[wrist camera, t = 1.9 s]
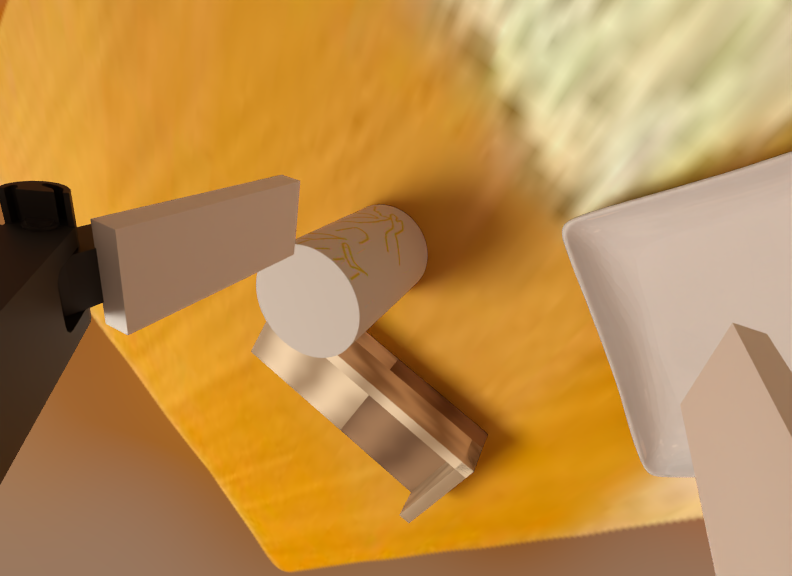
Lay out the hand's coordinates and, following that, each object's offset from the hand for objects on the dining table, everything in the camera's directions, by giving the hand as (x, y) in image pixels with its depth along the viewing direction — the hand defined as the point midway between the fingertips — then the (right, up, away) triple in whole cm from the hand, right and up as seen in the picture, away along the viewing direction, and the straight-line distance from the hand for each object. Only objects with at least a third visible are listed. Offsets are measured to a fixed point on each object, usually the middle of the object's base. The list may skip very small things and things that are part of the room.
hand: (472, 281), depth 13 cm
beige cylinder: (-3, +3, +26) cm, 26 cm away
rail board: (-6, -10, +33) cm, 35 cm away
